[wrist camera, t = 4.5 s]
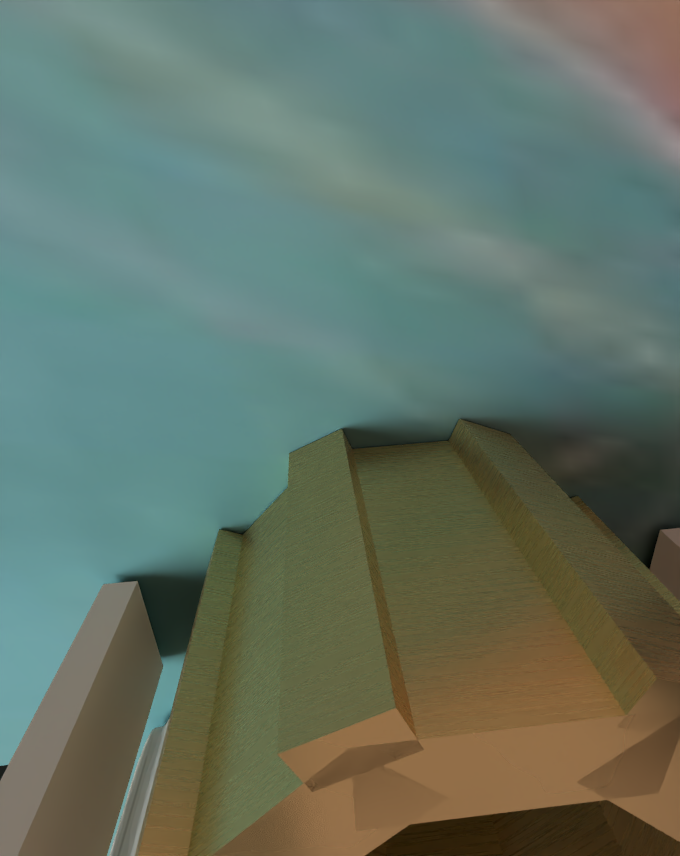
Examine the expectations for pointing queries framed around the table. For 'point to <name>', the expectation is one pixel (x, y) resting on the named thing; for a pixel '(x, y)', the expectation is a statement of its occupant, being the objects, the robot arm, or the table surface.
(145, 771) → the photo printer
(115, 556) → the table surface
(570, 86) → the table surface
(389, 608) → the brass gear
